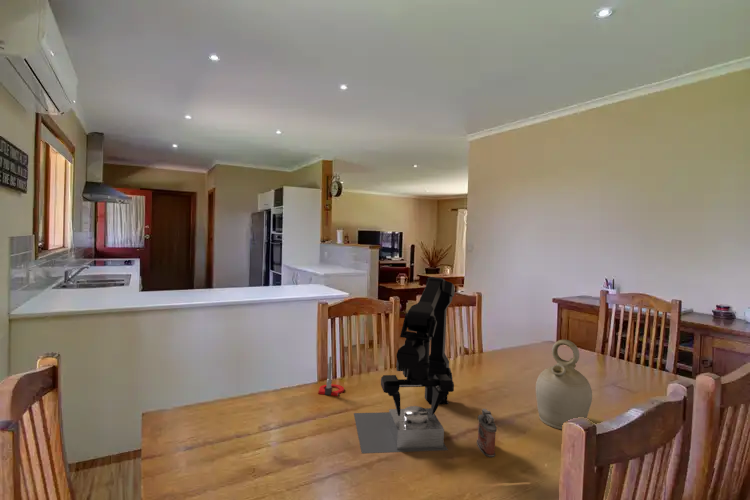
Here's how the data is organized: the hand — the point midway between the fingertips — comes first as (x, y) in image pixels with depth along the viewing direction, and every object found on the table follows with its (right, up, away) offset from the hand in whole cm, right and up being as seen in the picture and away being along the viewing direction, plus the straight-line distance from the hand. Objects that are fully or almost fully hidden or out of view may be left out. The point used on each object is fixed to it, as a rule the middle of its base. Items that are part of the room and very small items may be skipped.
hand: (415, 414), depth 109 cm
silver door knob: (0, -6, 0) cm, 6 cm away
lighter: (+17, -8, -4) cm, 20 cm away
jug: (+45, -8, +14) cm, 48 cm away
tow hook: (-26, -4, +30) cm, 40 cm away
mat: (-5, -6, +4) cm, 9 cm away
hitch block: (0, -6, 0) cm, 6 cm away
